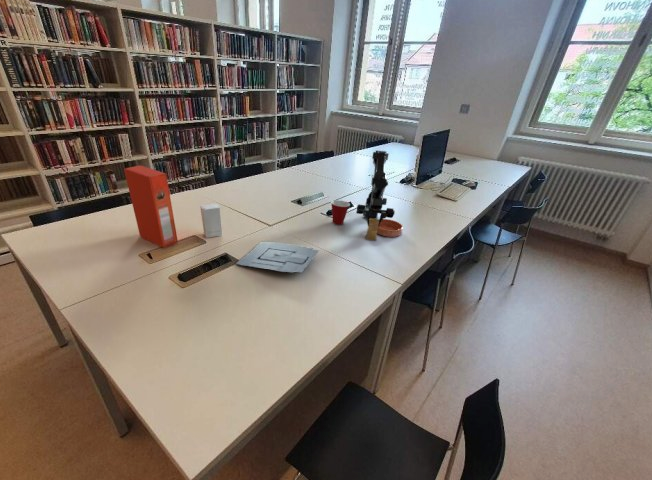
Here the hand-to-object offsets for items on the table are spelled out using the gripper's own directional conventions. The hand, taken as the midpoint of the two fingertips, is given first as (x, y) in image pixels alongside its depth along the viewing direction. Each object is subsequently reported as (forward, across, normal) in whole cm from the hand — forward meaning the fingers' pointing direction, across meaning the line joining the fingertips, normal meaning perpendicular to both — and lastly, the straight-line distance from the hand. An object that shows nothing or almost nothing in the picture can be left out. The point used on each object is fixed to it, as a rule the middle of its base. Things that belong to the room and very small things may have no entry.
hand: (373, 226), depth 161 cm
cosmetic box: (+19, -77, -8) cm, 80 cm away
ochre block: (+4, 0, +6) cm, 7 cm away
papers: (+29, -40, -19) cm, 53 cm away
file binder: (+27, -99, -17) cm, 104 cm away
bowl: (-4, +9, +14) cm, 17 cm away
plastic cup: (-6, -18, +16) cm, 25 cm away
